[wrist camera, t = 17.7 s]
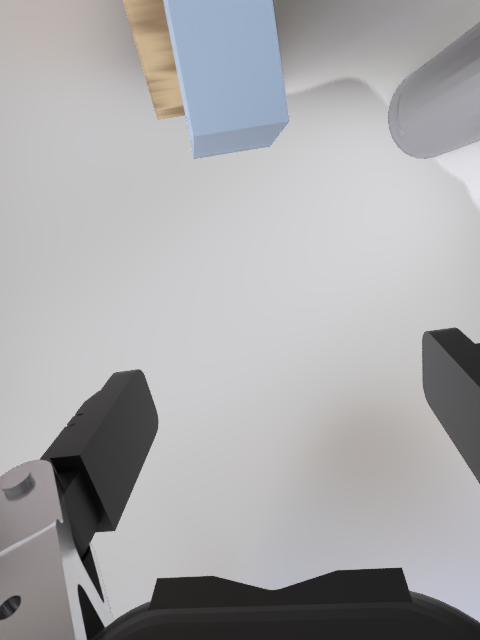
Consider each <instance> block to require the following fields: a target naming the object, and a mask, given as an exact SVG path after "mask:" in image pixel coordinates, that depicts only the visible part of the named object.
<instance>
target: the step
mask: <svg viewBox="0 0 480 640" xmlns="http://www.w3.org/2000/svg"><path fill="white" fill-rule="evenodd" d="M123 2H124V5H125V9H126V12H127V16H128V19H129V23H130V26H131V29H132V33H133V36H134V40H135V43H136V47H137V50H138V53H139V57H140V61H141V64H142V67H143V71H144V74H145V78H146V81H147V85H148V88H149V91H150V95H151V98H152V102H153V105H154V108H155V112H156V115H157V119H164V118H171V117H177V116H183V115H185V111H184V106H183V101H182V95H181V90H180V85H179V80H178V75H177V70H176V64H175V59H174V54H173V49H172V44H171V39H170V33H169V28H168V23H167V18H166V13H165V7H164V2H163V0H123Z"/></svg>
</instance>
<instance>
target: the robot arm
mask: <svg viewBox="0 0 480 640" xmlns="http://www.w3.org/2000/svg"><path fill="white" fill-rule="evenodd" d="M388 114H389V115H388V123H389V129H390V132H391V135H392V138H393V140H394V141H395V143H396V144H397V146H398V147H399V148H400V149H401V150H402V151H403V152H405V153H406V154H408V155H410V156H413V157H416V158H424V159H426V158H431V157H435V156H438V155H440V154H443V153H446V152H449V151H451V150H454V149H457V148H460V147H463V146H465V145H468V144H471V143H474V142H476V141H479V140H480V22H479V23H478V24H476V25H475V26H474V27H472V28H471V29H470V30H469V31H467V32H466V33H465V34H463V35H462V36H461V37H460V38H458V39H457V40H456V41H454V42H453V43H452V44H451V45H449V46H448V47H447V48H445V49H444V50H443V51H442V52H440V53H439V54H438V55H437V56H435V57H434V58H433V59H431V60H430V61H429V62H427V63H426V64H425V65H424V66H422V67H421V68H420V69H418V70H417V71H416V72H415V73H413V74H412V75H411V76H409V77H408V78H407V79H406V80H404V81H403V83H402V84H401V85H400V86H399V87H398V88H397V90H396V92H395V93H394V95H393V97H392V100H391V103H390V107H389V112H388ZM422 350H423V351H422V358H423V360H422V362H423V389H424V393H425V397H426V400H427V402H428V404H429V406H430V407H431V409H432V410H433V412H434V414H435V415H436V416H437V418H438V420H439V421H440V423H441V424H442V426H443V427H444V429H445V431H446V432H447V434H448V435H449V437H450V438H451V440H452V441H453V443H454V444H455V446H456V447H457V449H458V451H459V452H460V454H461V455H462V457H463V458H464V460H465V462H466V463H467V465H468V466H469V468H470V469H471V471H472V472H473V474H474V475H475V477H476V479H477V480H478V482H479V483H480V343H479V344H475V343H473V342H472V341H471V340H470V339H469V338H468V337H467V336H466V335H464V334H463V333H462V332H461V331H460V330H459V329H458V328H449V329H441V330H434V331H426V332H425V333H424V335H423V339H422ZM67 425H68V426H67V427H65V428H64V429H63V430H62V432H61V433H60V434H59V436H58V437H57V438H56V439H55V441H54V442H53V443H52V444H51V446H50V447H49V448H48V450H47V451H46V452H45V453H44V455H43V456H42V457H41V459H40V460H34V461H30V462H26V463H23V464H21V465H19V466H17V467H15V468H13V469H11V470H9V471H8V472H6V473H5V474H3V475H2V476H1V477H0V640H480V623H479V622H478V621H477V620H475V619H474V618H472V617H470V616H468V615H467V614H465V613H463V612H462V611H460V610H458V609H457V608H454V607H452V606H450V605H448V604H446V603H444V602H442V601H440V600H437V599H434V598H431V597H429V596H426V595H423V594H420V593H416V592H411V591H409V590H408V586H407V583H406V580H405V576H404V574H403V570H402V568H385V569H384V568H383V569H360V570H338V571H334V572H331V573H328V574H325V575H322V576H319V577H316V578H313V579H310V580H307V581H304V582H301V583H297V584H294V585H291V586H288V587H285V588H282V589H278V590H267V589H263V588H258V587H255V586H251V585H246V584H243V583H238V582H235V581H231V580H227V579H223V578H219V577H215V576H203V577H179V578H157V581H156V585H155V589H154V592H153V596H152V600H151V601H150V602H147V603H145V604H143V605H140V606H138V607H136V608H134V609H132V610H130V611H129V612H127V613H125V614H124V615H122V616H120V617H119V618H117V619H116V620H115V621H114V618H113V615H112V612H111V608H110V605H109V601H108V598H107V594H106V590H105V587H104V583H103V579H102V576H101V572H100V569H99V565H98V561H97V558H96V554H95V551H94V548H93V546H92V544H91V540H92V538H93V536H94V534H95V532H106V531H115V530H116V527H117V525H118V522H119V520H120V518H121V516H122V513H123V511H124V508H125V506H126V504H127V501H128V499H129V497H130V494H131V492H132V490H133V487H134V485H135V483H136V480H137V478H138V476H139V473H140V471H141V469H142V466H143V464H144V462H145V459H146V457H147V455H148V452H149V450H150V447H151V445H152V443H153V441H154V438H155V436H156V433H157V430H158V415H157V411H156V408H155V405H154V402H153V399H152V396H151V393H150V390H149V387H148V384H147V381H146V378H145V375H144V374H143V372H142V371H141V370H131V371H124V372H116V373H114V374H113V375H112V376H111V377H110V379H109V380H108V381H107V383H106V384H105V385H104V387H103V388H102V389H101V391H98V392H97V393H96V394H95V395H93V396H92V397H91V398H89V399H88V400H87V401H85V402H84V403H83V405H82V406H81V407H80V409H79V410H78V411H77V413H76V414H75V416H74V417H73V418H72V419H71V420H70V422H69V423H68V424H67Z"/></svg>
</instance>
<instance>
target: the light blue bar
mask: <svg viewBox="0 0 480 640" xmlns="http://www.w3.org/2000/svg"><path fill="white" fill-rule="evenodd" d="M163 2H164V7H165V13H166V18H167V23H168V28H169V33H170V39H171V44H172V49H173V54H174V59H175V64H176V70H177V75H178V80H179V85H180V90H181V95H182V101H183V106H184V111H185V116H186V121H187V126H188V131H189V137H190V142H191V147H192V152H193V157H194V159H196V158H202V157H208V156H214V155H220V154H226V153H232V152H238V151H245V150H250V149H257V148H263V147H269V146H270V145H271V144H272V143H273V141H274V140H275V139H276V138H277V136H278V135H279V134H280V132H281V131H282V130H283V129H284V127H285V126H286V125H287V123H288V122H289V117H288V109H287V102H286V95H285V87H284V80H283V73H282V65H281V58H280V51H279V43H278V36H277V29H276V21H275V14H274V7H273V0H163Z"/></svg>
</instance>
